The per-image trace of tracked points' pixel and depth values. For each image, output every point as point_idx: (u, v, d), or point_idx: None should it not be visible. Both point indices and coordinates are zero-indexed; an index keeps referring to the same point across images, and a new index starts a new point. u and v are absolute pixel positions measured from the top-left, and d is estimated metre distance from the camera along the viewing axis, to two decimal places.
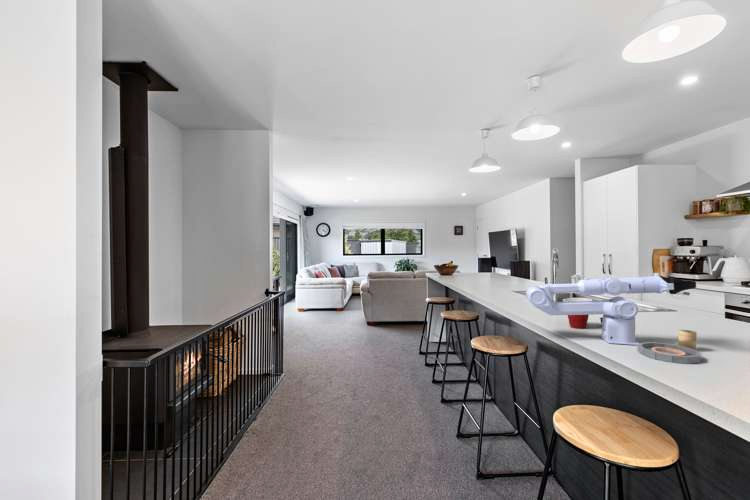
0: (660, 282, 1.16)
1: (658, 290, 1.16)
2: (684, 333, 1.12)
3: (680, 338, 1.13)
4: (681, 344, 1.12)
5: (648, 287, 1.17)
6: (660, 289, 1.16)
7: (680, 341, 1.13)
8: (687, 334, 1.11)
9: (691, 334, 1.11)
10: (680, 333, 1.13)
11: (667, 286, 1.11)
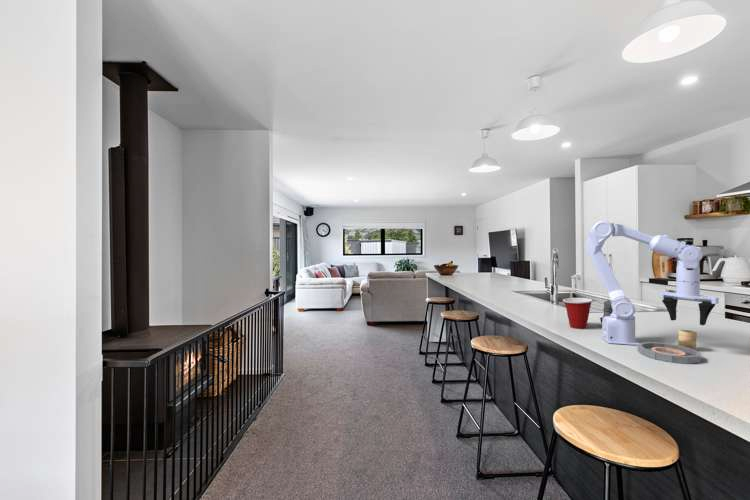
0: (700, 296, 1.10)
1: (693, 294, 1.10)
2: (684, 333, 1.12)
3: (680, 338, 1.13)
4: (681, 344, 1.12)
5: (697, 285, 1.10)
6: (695, 296, 1.09)
7: (680, 341, 1.13)
8: (687, 334, 1.11)
9: (691, 334, 1.11)
10: (680, 333, 1.13)
11: (717, 298, 1.06)
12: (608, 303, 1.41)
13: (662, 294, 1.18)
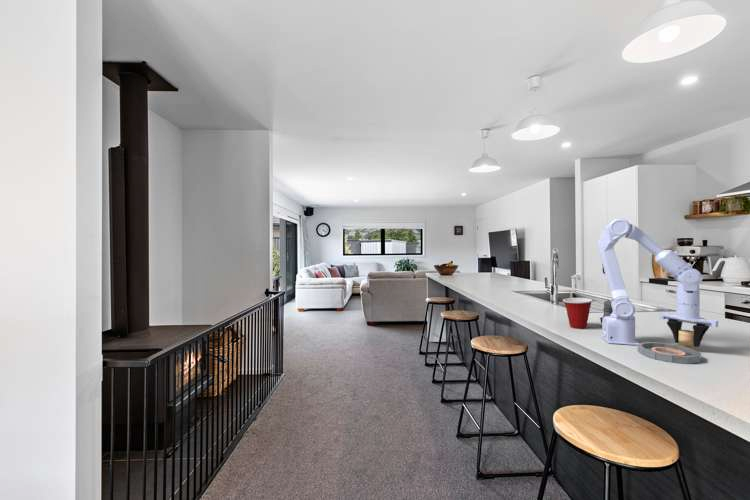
0: (699, 318, 1.11)
1: (693, 317, 1.10)
2: (684, 333, 1.12)
3: (680, 338, 1.13)
4: (681, 344, 1.12)
5: (697, 308, 1.10)
6: (695, 319, 1.10)
7: (680, 341, 1.13)
8: (687, 334, 1.11)
9: (691, 334, 1.11)
10: (680, 333, 1.13)
11: (716, 321, 1.06)
12: (608, 303, 1.41)
13: (662, 315, 1.18)
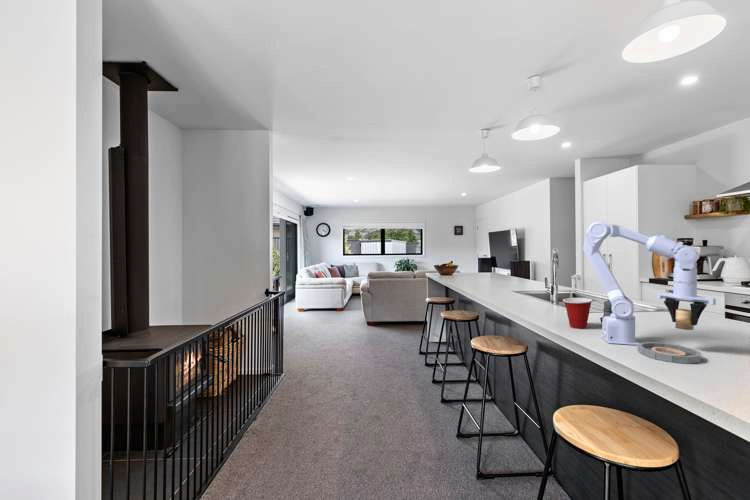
0: (697, 296, 1.10)
1: (690, 295, 1.09)
2: (681, 312, 1.11)
3: (677, 317, 1.12)
4: (678, 323, 1.12)
5: (694, 286, 1.09)
6: (693, 297, 1.09)
7: (677, 320, 1.12)
8: (684, 312, 1.10)
9: (688, 312, 1.10)
10: (677, 312, 1.12)
11: (714, 299, 1.05)
12: (608, 303, 1.41)
13: (659, 295, 1.17)
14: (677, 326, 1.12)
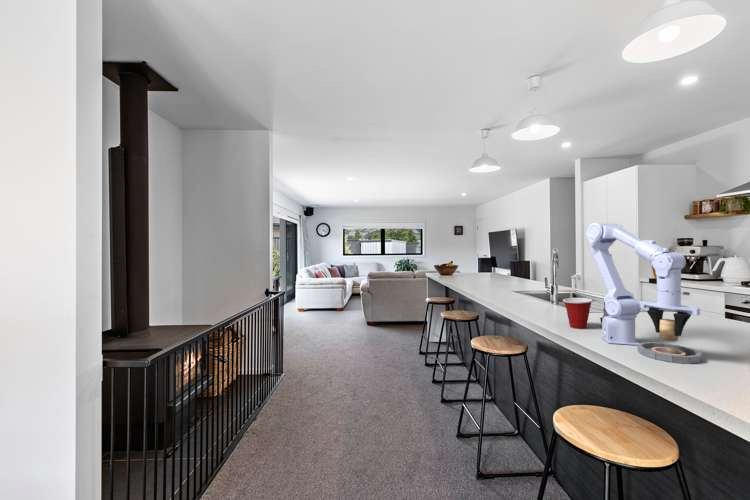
0: (681, 306, 1.05)
1: (674, 305, 1.04)
2: (665, 322, 1.06)
3: (661, 327, 1.07)
4: (662, 333, 1.07)
5: (678, 295, 1.04)
6: (676, 306, 1.04)
7: (661, 330, 1.07)
8: (668, 323, 1.05)
9: (672, 323, 1.05)
10: (661, 322, 1.07)
11: (698, 309, 1.00)
12: None
13: (642, 304, 1.12)
14: (661, 337, 1.07)
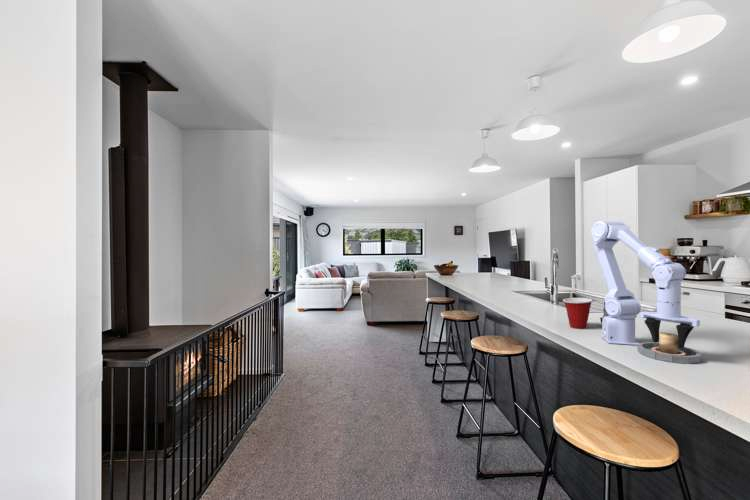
0: (681, 317, 1.05)
1: (674, 316, 1.04)
2: (665, 336, 1.06)
3: (661, 341, 1.07)
4: (662, 348, 1.07)
5: (678, 306, 1.04)
6: (676, 317, 1.04)
7: (661, 344, 1.07)
8: (668, 337, 1.05)
9: (672, 337, 1.05)
10: (661, 336, 1.07)
11: (698, 320, 1.00)
12: None
13: (642, 314, 1.12)
14: (661, 351, 1.07)
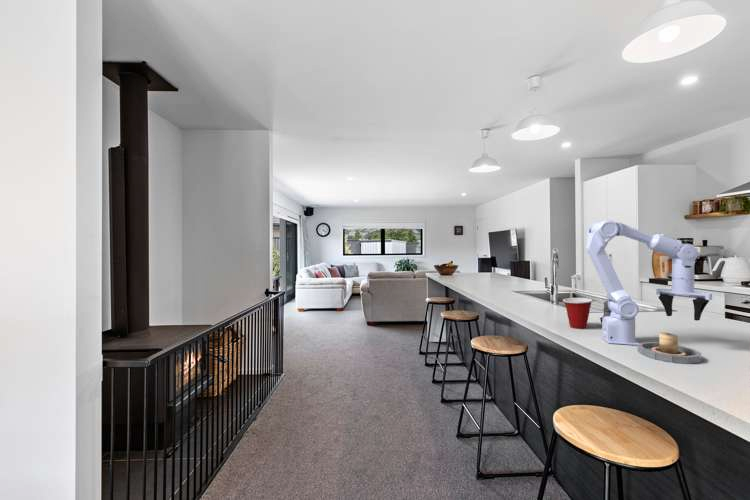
0: None
1: (688, 291, 1.14)
2: (665, 336, 1.06)
3: (661, 342, 1.07)
4: (662, 348, 1.07)
5: (692, 282, 1.14)
6: (690, 292, 1.14)
7: (661, 345, 1.07)
8: (668, 337, 1.05)
9: (672, 337, 1.05)
10: (661, 336, 1.07)
11: (710, 294, 1.10)
12: None
13: (658, 291, 1.22)
14: (661, 351, 1.07)
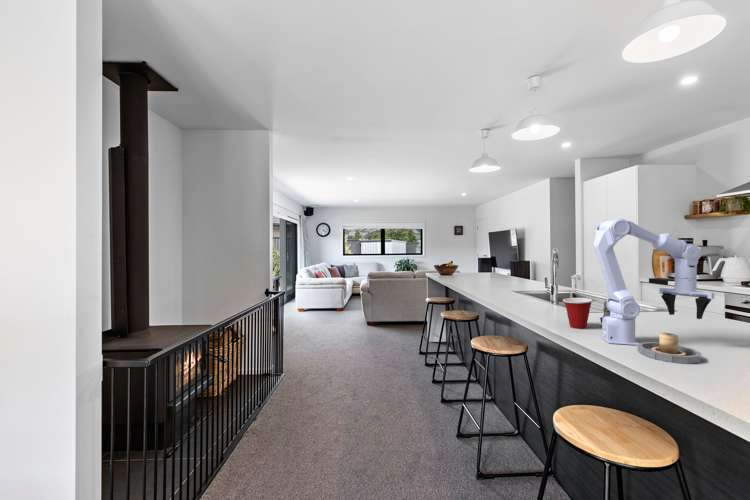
0: (697, 291, 1.17)
1: (690, 290, 1.16)
2: (665, 336, 1.06)
3: (661, 341, 1.07)
4: (662, 348, 1.07)
5: (694, 281, 1.16)
6: (692, 291, 1.16)
7: (661, 345, 1.07)
8: (668, 337, 1.05)
9: (672, 337, 1.05)
10: (661, 336, 1.07)
11: (712, 293, 1.13)
12: None
13: (661, 290, 1.24)
14: (661, 351, 1.07)
